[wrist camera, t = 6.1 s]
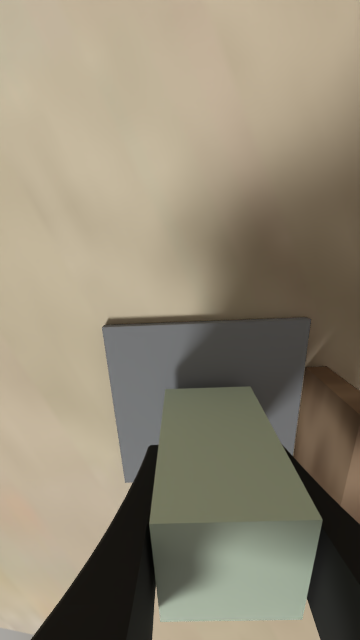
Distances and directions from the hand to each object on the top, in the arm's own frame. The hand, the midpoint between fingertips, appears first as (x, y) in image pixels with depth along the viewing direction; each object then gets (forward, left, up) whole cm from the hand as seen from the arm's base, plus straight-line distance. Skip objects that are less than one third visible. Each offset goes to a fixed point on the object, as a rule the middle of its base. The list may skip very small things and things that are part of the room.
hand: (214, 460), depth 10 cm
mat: (0, 0, -4) cm, 4 cm away
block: (0, 0, -2) cm, 2 cm away
